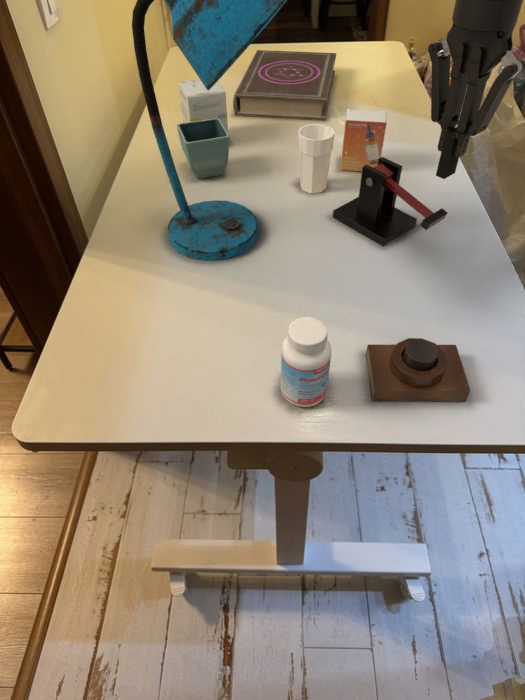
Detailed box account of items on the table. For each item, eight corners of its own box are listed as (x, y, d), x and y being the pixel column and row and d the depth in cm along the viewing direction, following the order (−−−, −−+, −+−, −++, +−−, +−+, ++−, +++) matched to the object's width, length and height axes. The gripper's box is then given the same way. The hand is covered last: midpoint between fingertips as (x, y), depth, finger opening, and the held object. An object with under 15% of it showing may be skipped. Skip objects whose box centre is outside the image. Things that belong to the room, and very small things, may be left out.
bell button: (431, 348, 68) (434, 339, 67) (438, 371, 65) (441, 362, 64) (401, 348, 68) (403, 338, 67) (406, 371, 65) (408, 362, 64)
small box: (339, 171, 107) (344, 119, 99) (341, 157, 110) (346, 107, 103) (378, 173, 106) (387, 122, 98) (379, 160, 110) (387, 109, 102)
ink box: (230, 145, 115) (226, 90, 107) (193, 152, 114) (186, 96, 105) (219, 129, 121) (215, 75, 112) (184, 135, 119) (176, 81, 110)
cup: (327, 196, 100) (332, 141, 92) (294, 193, 101) (295, 138, 93) (331, 179, 105) (336, 125, 96) (299, 176, 106) (301, 122, 97)
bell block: (452, 355, 72) (459, 335, 69) (466, 401, 67) (474, 381, 64) (365, 355, 72) (369, 335, 69) (372, 400, 67) (376, 381, 64)
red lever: (443, 221, 85) (449, 210, 83) (424, 233, 83) (430, 222, 81) (382, 172, 90) (387, 160, 88) (363, 182, 88) (367, 170, 86)
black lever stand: (415, 226, 93) (428, 170, 85) (382, 246, 89) (393, 189, 81) (365, 199, 99) (373, 145, 91) (332, 217, 95) (337, 162, 87)
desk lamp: (274, 270, 85) (274, -82, 52) (150, 252, 89) (76, -86, 56) (294, 216, 96) (304, -105, 63) (182, 203, 100) (135, -107, 66)
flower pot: (233, 178, 106) (230, 135, 99) (190, 186, 104) (185, 143, 97) (222, 159, 111) (218, 117, 105) (182, 166, 110) (175, 123, 103)
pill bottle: (303, 417, 65) (307, 358, 57) (271, 388, 69) (270, 329, 60) (336, 391, 68) (344, 331, 60) (304, 365, 71) (307, 305, 63)
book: (325, 120, 123) (326, 98, 119) (233, 115, 126) (232, 94, 122) (334, 72, 143) (336, 52, 140) (255, 69, 146) (255, 49, 142)
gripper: (426, -18, 62) (395, 167, 79) (526, 2, 55) (468, 200, 73) (463, -28, 65) (425, 151, 83) (562, -11, 59) (498, 181, 76)
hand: (445, 174), depth 78 cm, fingers closed
